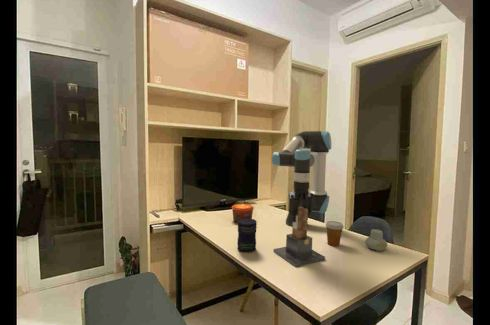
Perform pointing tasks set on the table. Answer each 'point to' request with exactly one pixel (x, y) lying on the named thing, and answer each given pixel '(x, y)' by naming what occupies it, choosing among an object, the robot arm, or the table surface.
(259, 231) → the table surface
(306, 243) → the grey socket base
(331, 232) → the disposable coffee cup
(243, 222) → the storage jar
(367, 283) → the table surface
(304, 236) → the column
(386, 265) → the table surface
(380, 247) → the air freshener
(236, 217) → the food container
